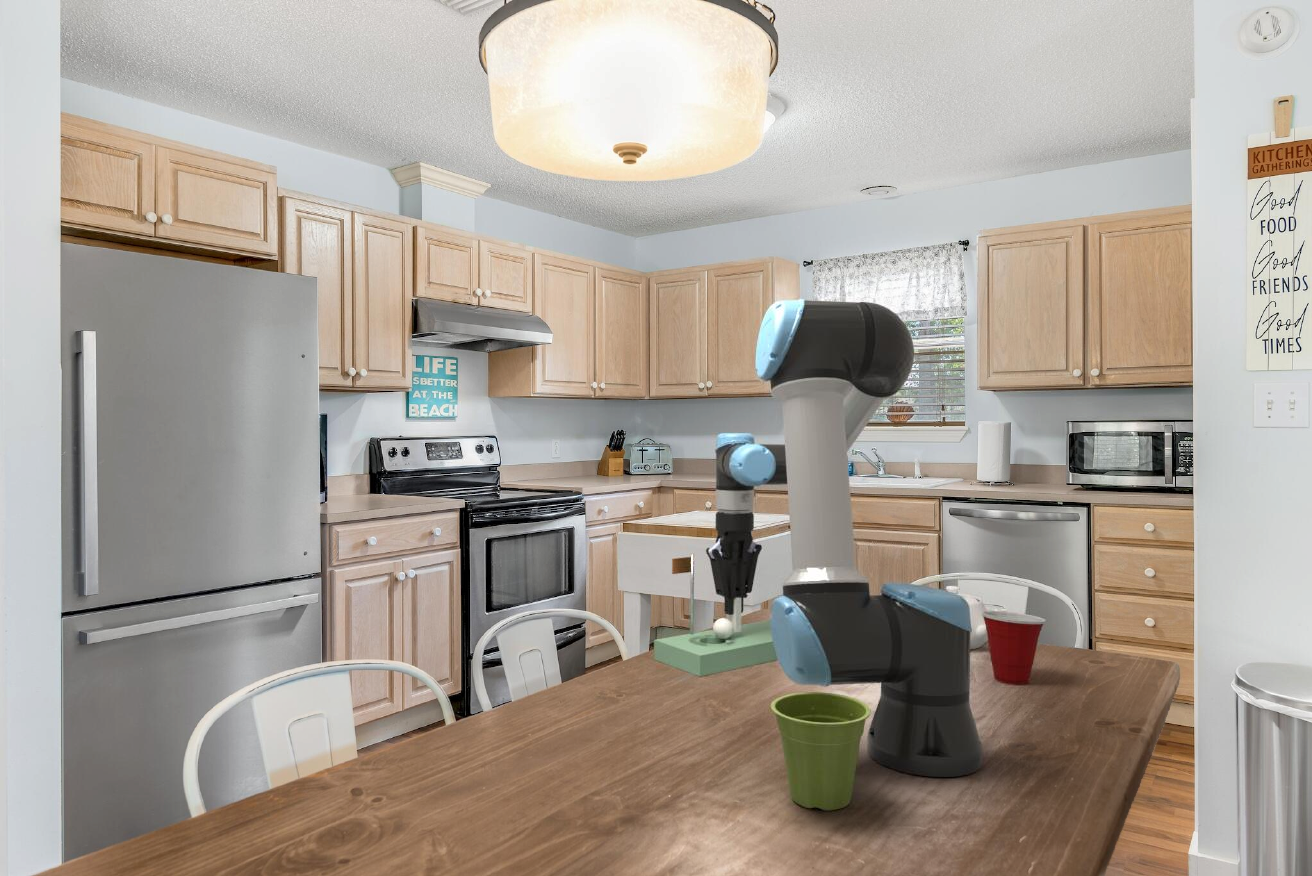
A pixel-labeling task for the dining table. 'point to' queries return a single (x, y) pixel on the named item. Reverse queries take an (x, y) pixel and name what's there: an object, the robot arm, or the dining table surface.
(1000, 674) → the plastic cup
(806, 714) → the plant pot
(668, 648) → the putting board
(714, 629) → the ball
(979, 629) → the teapot
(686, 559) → the flag
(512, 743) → the dining table surface
